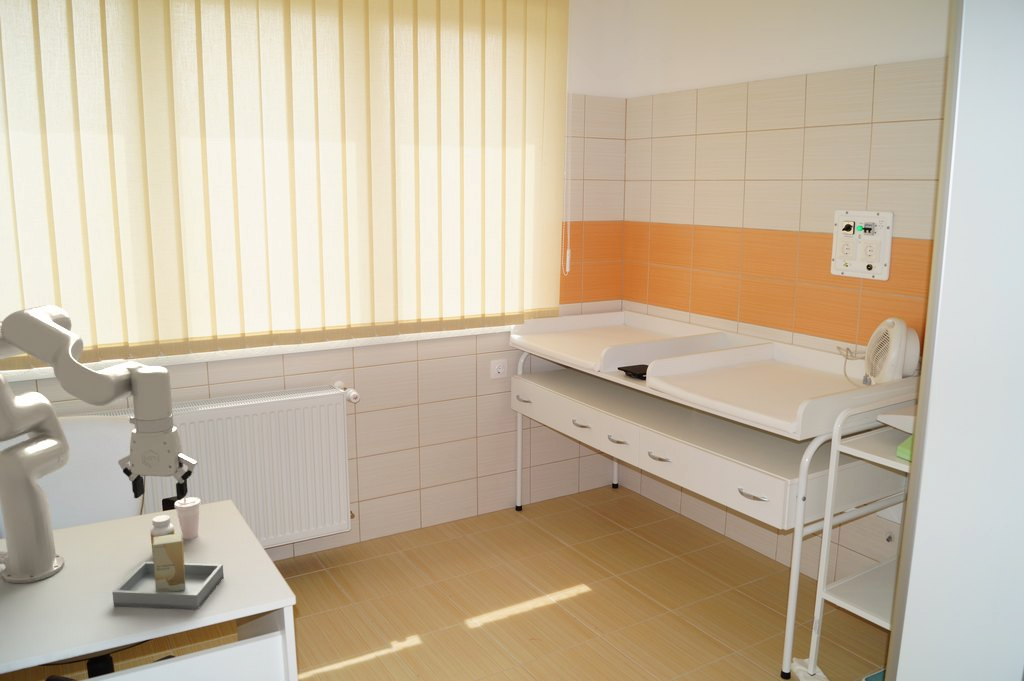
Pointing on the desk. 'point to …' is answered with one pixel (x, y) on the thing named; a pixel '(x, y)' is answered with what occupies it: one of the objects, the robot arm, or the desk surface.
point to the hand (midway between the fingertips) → (160, 496)
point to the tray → (143, 592)
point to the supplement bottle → (161, 527)
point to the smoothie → (188, 516)
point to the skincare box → (169, 563)
